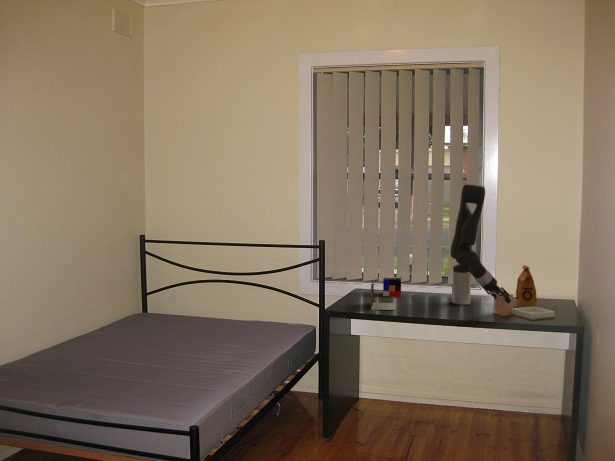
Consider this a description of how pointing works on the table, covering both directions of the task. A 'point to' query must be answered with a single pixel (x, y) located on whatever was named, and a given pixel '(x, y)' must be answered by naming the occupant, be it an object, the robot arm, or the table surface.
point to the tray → (533, 313)
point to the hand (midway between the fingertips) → (504, 300)
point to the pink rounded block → (504, 304)
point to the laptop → (382, 305)
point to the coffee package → (525, 289)
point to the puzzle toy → (392, 286)
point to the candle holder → (502, 313)
